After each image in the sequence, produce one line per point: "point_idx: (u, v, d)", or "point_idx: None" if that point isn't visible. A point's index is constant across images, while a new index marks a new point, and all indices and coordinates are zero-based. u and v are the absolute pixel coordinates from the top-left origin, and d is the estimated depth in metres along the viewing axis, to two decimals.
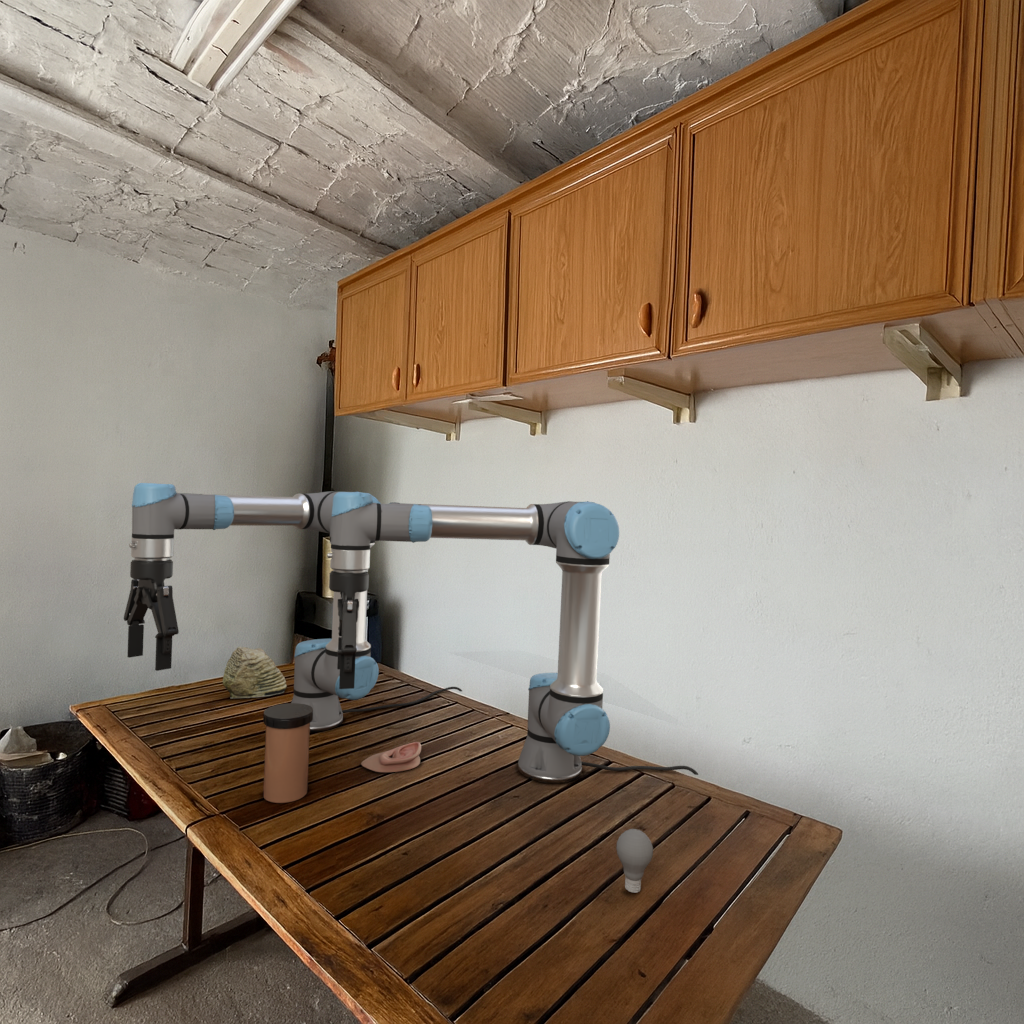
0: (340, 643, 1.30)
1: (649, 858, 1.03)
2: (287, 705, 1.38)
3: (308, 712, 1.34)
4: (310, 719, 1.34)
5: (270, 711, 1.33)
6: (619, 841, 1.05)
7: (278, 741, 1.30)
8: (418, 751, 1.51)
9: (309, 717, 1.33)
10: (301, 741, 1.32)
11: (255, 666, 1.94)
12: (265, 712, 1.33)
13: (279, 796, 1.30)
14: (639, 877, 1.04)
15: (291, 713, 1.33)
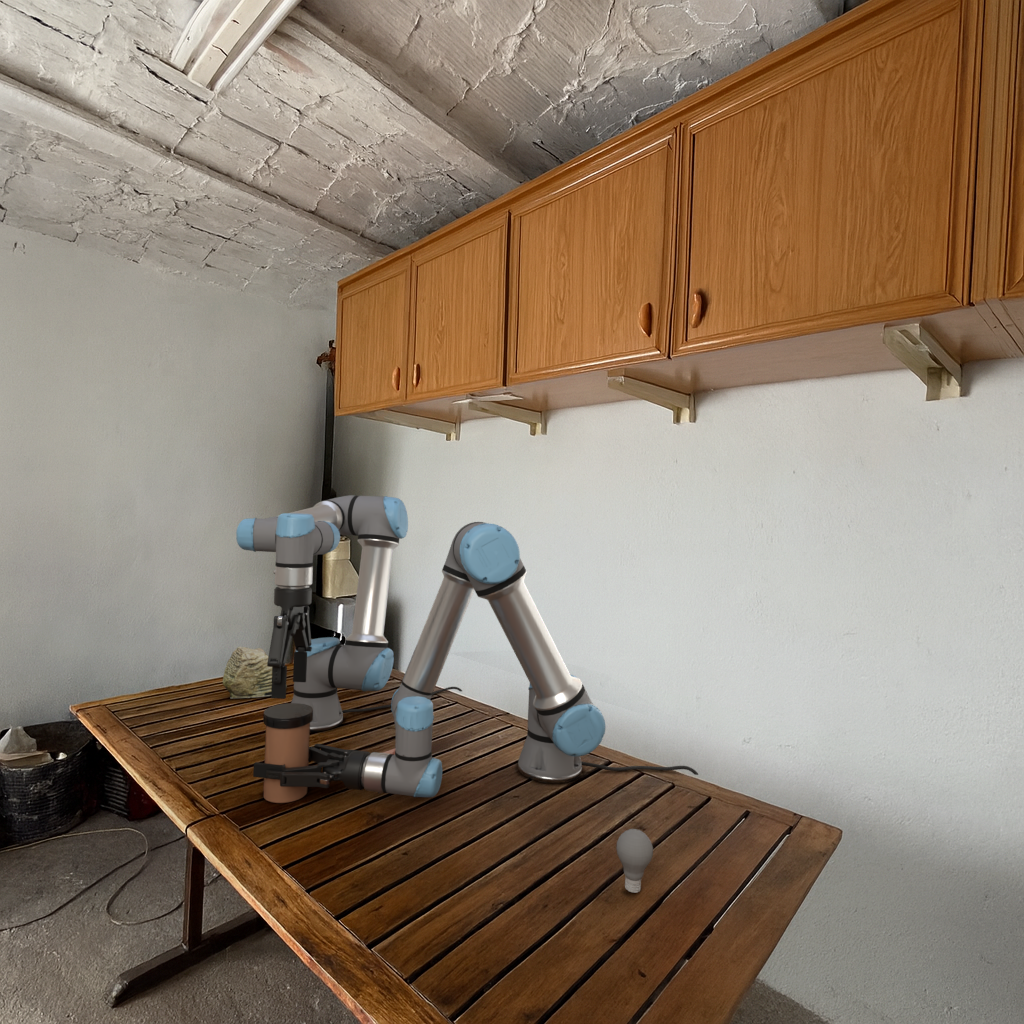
0: None
1: (649, 858, 1.03)
2: (287, 705, 1.38)
3: (308, 712, 1.34)
4: (310, 719, 1.34)
5: (270, 711, 1.33)
6: (619, 841, 1.05)
7: (278, 741, 1.30)
8: None
9: (309, 717, 1.33)
10: (301, 741, 1.32)
11: (255, 666, 1.94)
12: (265, 712, 1.33)
13: (279, 796, 1.30)
14: (639, 877, 1.04)
15: (291, 713, 1.33)
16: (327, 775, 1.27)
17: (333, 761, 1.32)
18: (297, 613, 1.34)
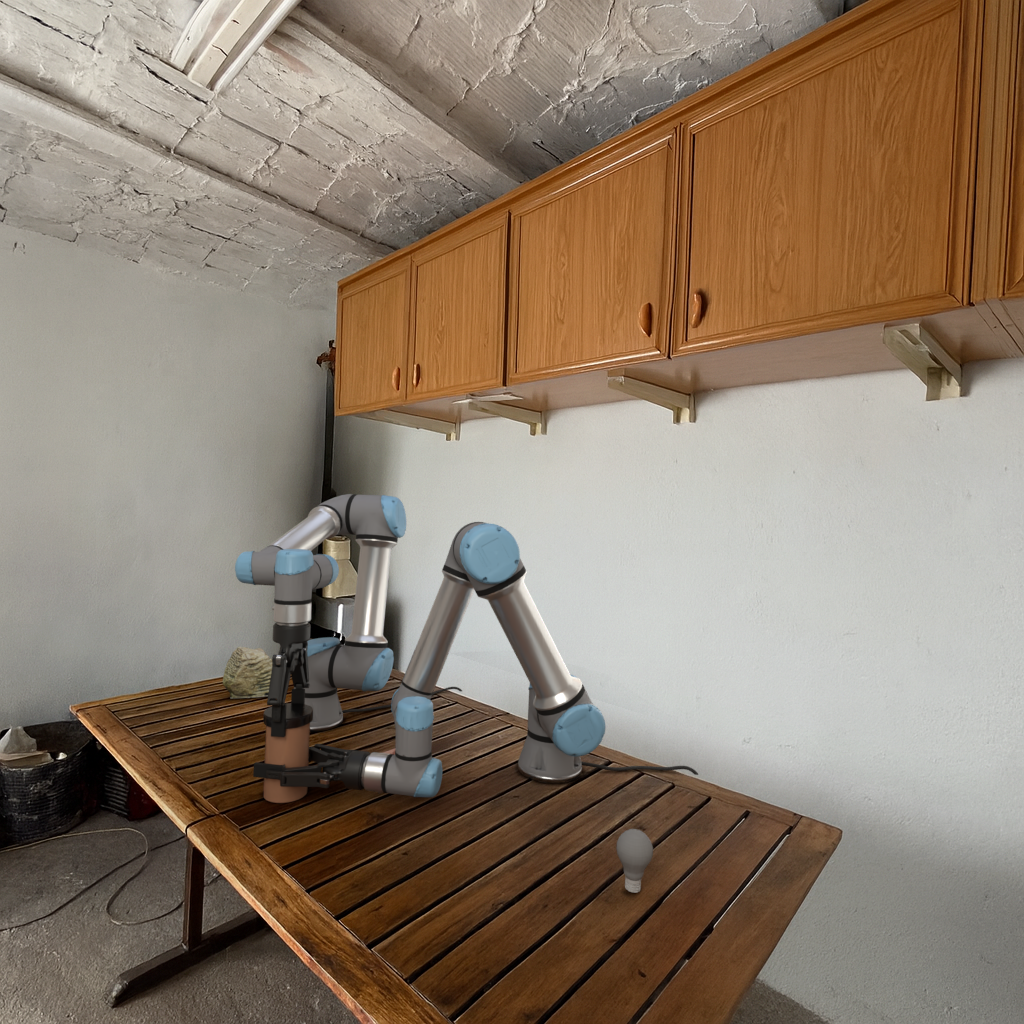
0: None
1: (649, 858, 1.03)
2: (287, 705, 1.38)
3: (308, 712, 1.34)
4: (310, 719, 1.34)
5: (270, 711, 1.33)
6: (619, 841, 1.05)
7: (278, 741, 1.30)
8: None
9: (309, 717, 1.33)
10: (301, 741, 1.32)
11: (255, 666, 1.94)
12: (265, 712, 1.33)
13: (279, 796, 1.30)
14: (639, 877, 1.04)
15: (291, 713, 1.33)
16: (327, 775, 1.27)
17: (333, 761, 1.32)
18: (296, 649, 1.34)
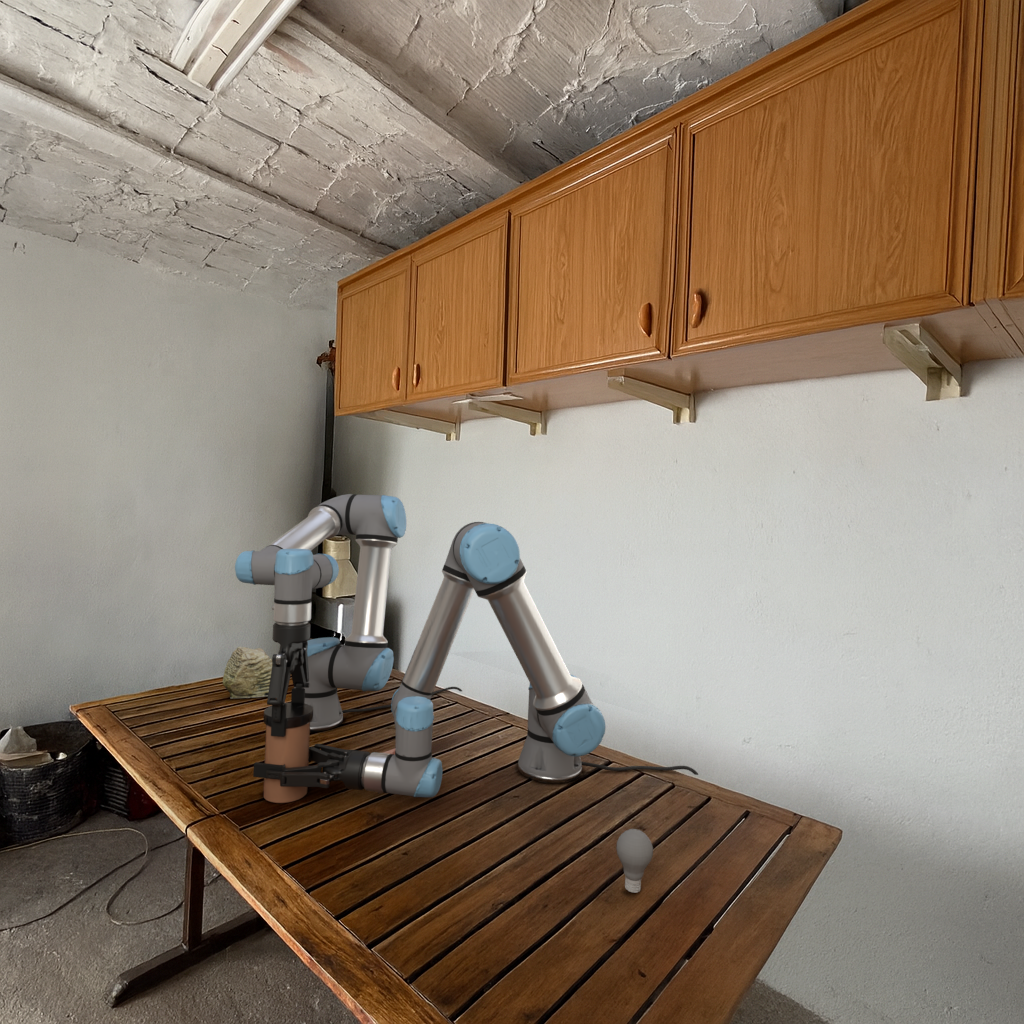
0: None
1: (649, 858, 1.03)
2: (269, 711, 1.33)
3: (298, 703, 1.39)
4: None
5: (288, 715, 1.31)
6: (619, 841, 1.05)
7: (278, 741, 1.30)
8: None
9: None
10: (301, 741, 1.32)
11: (255, 666, 1.94)
12: (290, 717, 1.30)
13: (279, 796, 1.30)
14: (639, 877, 1.04)
15: (298, 708, 1.36)
16: (327, 775, 1.27)
17: (333, 761, 1.32)
18: (296, 649, 1.34)
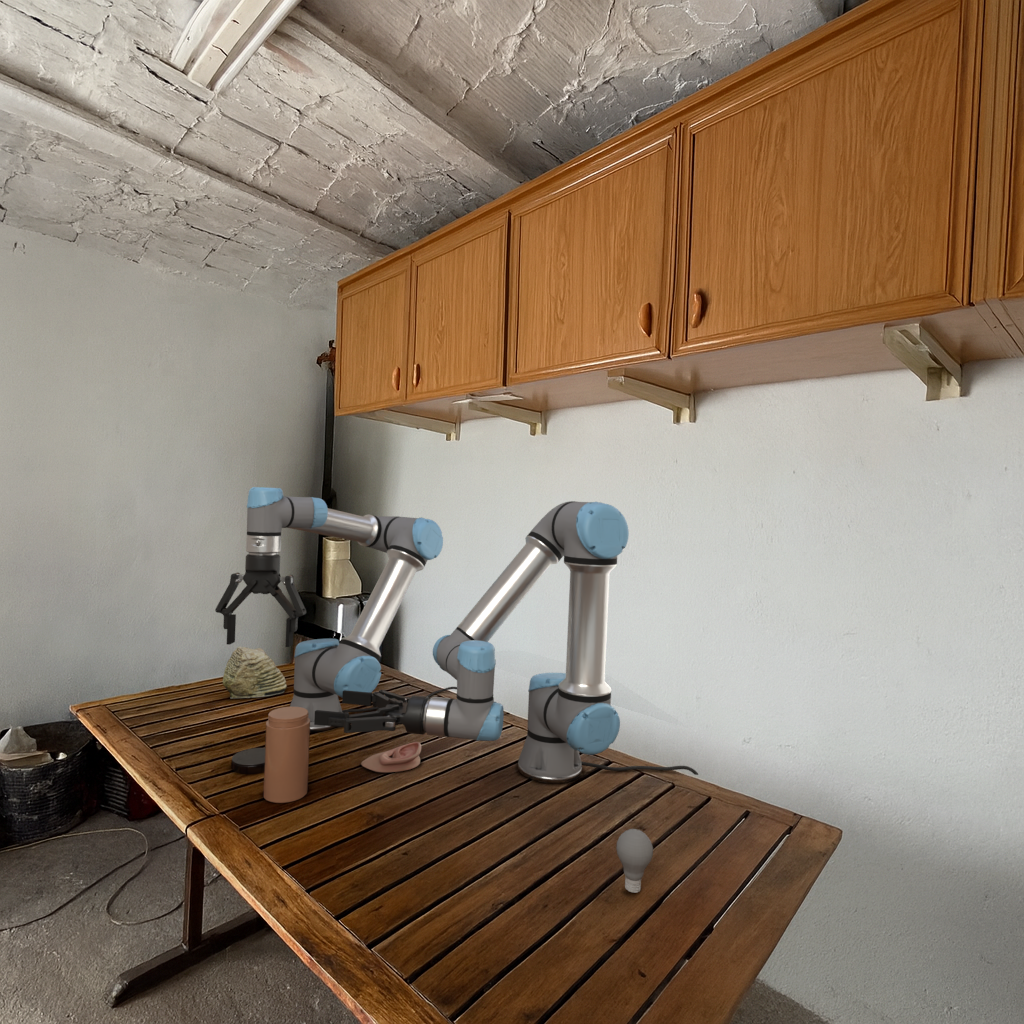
0: None
1: (649, 858, 1.03)
2: (258, 762, 1.45)
3: (235, 755, 1.48)
4: None
5: None
6: (619, 841, 1.05)
7: (278, 741, 1.30)
8: (418, 751, 1.51)
9: None
10: (301, 741, 1.32)
11: (255, 666, 1.94)
12: None
13: (279, 796, 1.30)
14: (639, 877, 1.04)
15: (251, 753, 1.49)
16: (393, 717, 1.24)
17: (393, 705, 1.29)
18: None
